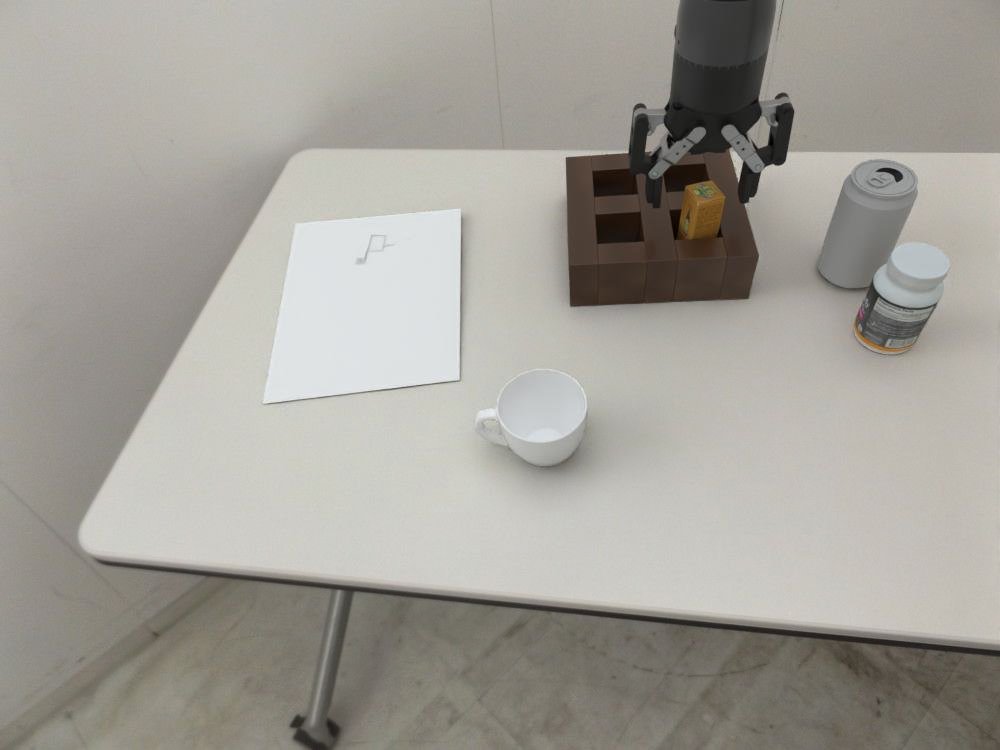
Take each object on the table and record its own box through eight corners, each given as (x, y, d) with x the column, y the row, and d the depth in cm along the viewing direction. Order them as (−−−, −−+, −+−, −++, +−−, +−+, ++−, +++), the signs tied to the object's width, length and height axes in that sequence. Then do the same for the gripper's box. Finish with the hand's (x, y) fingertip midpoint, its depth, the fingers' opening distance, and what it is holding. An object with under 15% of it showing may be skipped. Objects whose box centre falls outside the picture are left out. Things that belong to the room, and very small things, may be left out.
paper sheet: (482, 212, 85) (481, 205, 84) (457, 408, 68) (456, 402, 67) (300, 219, 88) (297, 212, 87) (233, 408, 71) (229, 402, 70)
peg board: (721, 189, 83) (728, 145, 79) (748, 298, 72) (759, 255, 67) (567, 198, 85) (565, 156, 81) (570, 306, 74) (568, 265, 69)
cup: (591, 481, 60) (590, 440, 55) (478, 486, 61) (467, 445, 56) (585, 410, 65) (584, 365, 60) (481, 415, 66) (471, 371, 61)
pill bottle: (862, 306, 69) (895, 229, 62) (923, 327, 67) (965, 249, 59) (843, 343, 67) (875, 267, 59) (905, 366, 64) (947, 290, 57)
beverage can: (894, 273, 72) (938, 177, 62) (852, 302, 70) (892, 207, 61) (842, 243, 75) (877, 147, 66) (802, 269, 74) (832, 175, 64)
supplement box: (714, 272, 75) (728, 197, 67) (684, 280, 74) (695, 205, 67) (701, 253, 77) (713, 177, 69) (672, 260, 77) (680, 186, 69)
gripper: (637, 70, 55) (629, 229, 67) (824, 54, 53) (780, 221, 66) (630, 26, 59) (624, 182, 72) (801, 10, 58) (765, 173, 70)
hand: (698, 200), depth 69 cm, fingers open, 8 cm apart
